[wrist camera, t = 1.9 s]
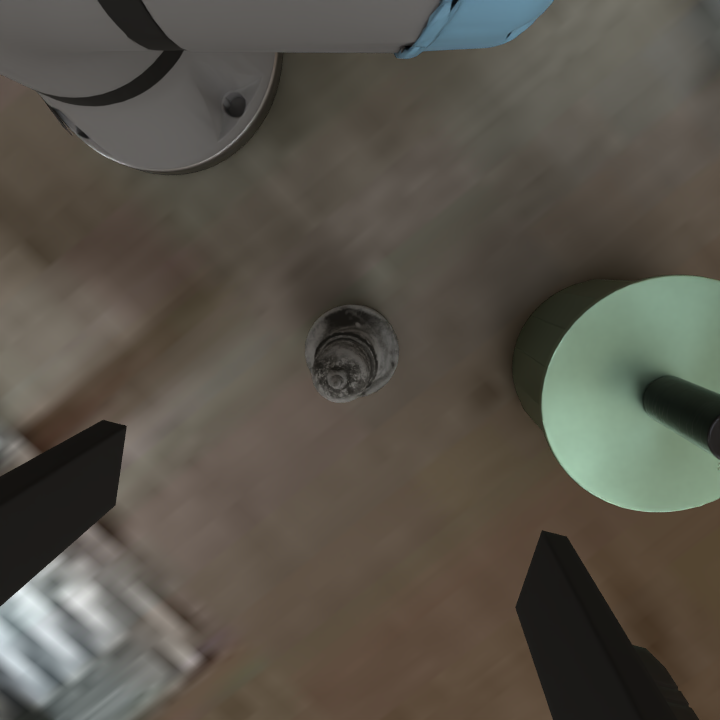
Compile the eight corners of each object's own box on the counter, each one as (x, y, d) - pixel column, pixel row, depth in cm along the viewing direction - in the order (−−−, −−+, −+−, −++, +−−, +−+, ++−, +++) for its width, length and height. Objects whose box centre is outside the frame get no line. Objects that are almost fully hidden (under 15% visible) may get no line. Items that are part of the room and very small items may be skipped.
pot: (489, 315, 34) (519, 332, 26) (658, 253, 32) (748, 250, 24) (541, 464, 36) (585, 525, 27) (704, 411, 34) (803, 459, 26)
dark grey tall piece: (359, 401, 36) (341, 469, 24) (296, 346, 35) (246, 387, 23) (416, 340, 35) (426, 379, 23) (352, 282, 34) (329, 292, 22)
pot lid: (504, 325, 26) (539, 346, 20) (747, 236, 25) (873, 227, 18) (575, 530, 28) (628, 611, 22) (806, 460, 26) (939, 525, 20)
